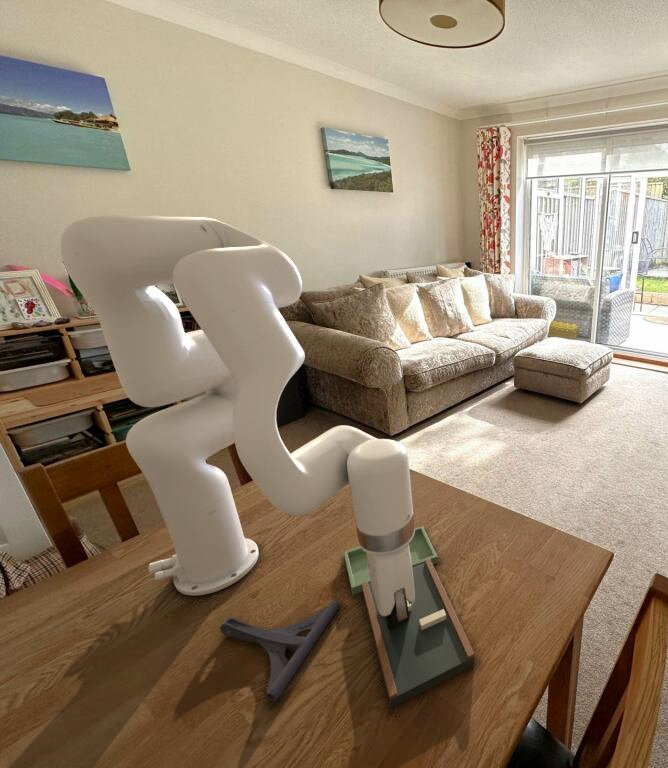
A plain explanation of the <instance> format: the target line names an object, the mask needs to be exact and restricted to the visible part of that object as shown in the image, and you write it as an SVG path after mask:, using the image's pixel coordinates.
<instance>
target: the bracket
mask: <svg viewBox="0 0 668 768" xmlns="http://www.w3.org/2000/svg"><path fill="white" fill-rule="evenodd" d="M340 606H341V604H340V603H339V602H338V601H337V600H331V601H330V602H329V604H327V605H326V606H324V607H323V608H321V609H320V610H318V611H317V612H315V613H314V614H312V615H311V616H309V617H307V618H305V619H303V620H301V621H298V622H296V623H293V624H290V625H288V626H287V625H286V626H283V627H277V628H261V627H258V626H255V625H252V624H250V623H247V622H244V621H242V620H239V619H237V618H236V617H233V616H230V617H228V618H227V619H225V621H224V622H223V623H222V624H221V625H220V627H219V630H220V632H221V633H222V634H223V635H224V636H226V637H229V638H233V639H237V640H242V641H245V642H250V643H255V644H258V645H259V646H261V647H262V648H263V649H264V650H265V652H266V653H267V655H268V657H269V662H270V672H269V673H270V675H269V679H268V683H267V688H266V691H265V693H266V694H265V698H266V699H267V700H268V701H269V702H273V703H275V702H277V701H278V700H279V698H280V696H281V695H282V693H283V692H284V690H286V688H287V686H288V685H289V683H290V681H292V678H293V677H294V676H295V674H296V673H297V671H298V670H299V668H300V666H301V665H302V664H303V663H304V661H305V659H306V658H307V656H308V655H309V653H310V651H312V649H313V647H314V646H315V644H316V643H317V641H318V640H319V638H320V637H321V635H322V633H323V632H324V631H325V630H326V628H327V626H328V624H329V623H330V622H331V620H332V619H333V618H334V616H335V614H336V613H337V611H338V610H339V609H340ZM308 631H309V632H308ZM305 632H308V634H307V635H306V636H299V635H300V634H302V633H305ZM286 651H290V652H294V654H292V657H290V659H288V658H287V657H286Z"/></svg>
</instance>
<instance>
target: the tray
mask: <svg viewBox="0 0 668 768" xmlns="http://www.w3.org/2000/svg"><path fill="white" fill-rule="evenodd" d="M409 549H410V555H411V563H412V567H414V566H417V565H420V564H422V563H425V560H426V559H429V558H430V560H431V562H432V564H433V565H436V564H438V562H439V561H438V560H439V559H438V555H437V552H436V551H435V549H434V546H433V544H432V543H431V540H430V538H429V536H428V534H427V532H426V531H425V528H424V526H423V525H421V526H418V527H415V534H414V537H413V539H412V540H411V542H410V543H409ZM343 557H344V561H345V568H346V571H347V575H348V581H349V586H350V589H351V594H352V595H353V596H355V595H357V594H359V593H363V590H362V583H364V582H367V581H368V584H369V583H371V581H370V577H369V571H368V562H367V553H366V552H364V551H363V550H362V549H361V548H360V546H357V547H353V548H350V549H348V550H345V551H343Z"/></svg>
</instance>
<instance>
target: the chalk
mask: <svg viewBox="0 0 668 768" xmlns="http://www.w3.org/2000/svg"><path fill="white" fill-rule="evenodd" d="M444 620H446V613H445V611H444V609H443V610H440V611H438V612H436V613H433V614H431V615H429V616H427V617H424V618H422V619H420V620H419V625H420V627H421V630H424V629H426V628H428V627H430V626H433V625H435V624H437V623H439V622H441V621H444Z"/></svg>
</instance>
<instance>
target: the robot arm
mask: <svg viewBox="0 0 668 768" xmlns="http://www.w3.org/2000/svg"><path fill="white" fill-rule="evenodd" d="M60 255H61V259H62V263H63V265H64V268H65V269H66V271H67V273H68V275H69V277H70V279H71V280H72V282H73V284H74V285H75V287H76V288H77V289H78V291H79V292H80V294H81V295H82V296H83V297H84V299H85V300H86V302H87V303H88V304H89V306H90V308H91V309H92V311H93V312H94V314H95V315H96V318H97V319H98V322H99V324H100V328H101V331H102V334H103V337H104V340H105V343H106V346H107V348H108V352H109V355H110V358H111V361H112V363H113V367H114V368H115V372H116V375H117V377H118V381H119V383H120V385H121V386H120V387H122V389H123V391H124V393H125V395H126V396H127V398H128V399H129V400H130V401H131V402H132V403H134V404H135V405H138V406H140V407H143V408H157V407H162V406H167V405H171V404H174V403H177V402H180V401H182V402H180V403H177V404H175V405H172V406H169V407H167V408H164V409H161V410H159V411H157V412H154V413H151V414H149V415H147V416H146V417H144V418H142V419H140V420H139V421H137V422H136V423H135V424H133V426H131V428H130V429H129V430H128V431H127V434H126V436H125V445H126V448H127V451H128V453H129V455H130V456H131V458H132V460H133V461H134V462H135V464H136V465H137V467H138V468H139V470H140V471H141V472H142V474H143V476H144V477H145V479H146V481H147V483H148V485H149V486H150V488H151V491H152V494H153V495H154V498H155V500H156V503H157V506H158V508H159V511H160V513H161V516H162V518H163V521H164V524H165V527H166V530H167V532H168V535H169V537H170V541H171V543H172V545H173V548H174V552H175V554H173V555H172V556H171V557H169V558H166V559H161V560H157V561H153V562H150V563H149V564H148V572H149V574H150V575H151V576H152V575H154V580H155V581H156V582H159V581H162V580H165V579H167V578H170V577H171V578H172V577H173V584H174V588H175V589H176V590H177V591H178V592H179V593H181V594H183V595H186V596H195V597H196V596H204V595H208V594H212V593H216V592H219V591H221V590H224V589H225V588H228V587H229V586H231V585H233V584H236V582H239V580H241V579H243V577H245V576H246V575H247V574H248V573H249V572H250V571H251V570H252V569H253V568H254V566H255V565H256V563H257V561H258V559H259V554H260V552H259V547H258V545H257V543H256V542H255V541H254V540H252V539H250V538H247V537H245V535H244V531H243V528H242V524H241V521H240V518H239V517H240V516H239V514H238V510H237V506H236V503H235V499H234V496H233V493H232V489H231V485H230V483H229V479H228V476H227V475H226V473H225V472H224V471H222V470H221V469H220V468H218V467H217V466H214V465H212V464H209V463H207V460H208V458H210V457H211V456H213V455H215V454H217V453H218V452H220V451H222V450H224V449H225V448H228V447H229V446H232V445H233V444H234V445H235V446H234V447H235V449H236V452H237V456H238V458H239V460H240V462H241V464H242V466H243V468H244V469H245V470H246V472H247V473H248V475H249V476H250V478H251V479H252V481H253V482H254V484H255V486H257V489H259V491H260V492H261V493H262V495H263V496H264V497H265V499H266V500H267V501H268V502H269V503H270V504H271V505H272V506H273V507H274V508H275V509H276V510H278V511H279V512H280V513H282V514H284V515H287V516H290V517H304V516H307V515H310V514H311V513H313V512H315V511H316V510H318V509H319V508H321V507H322V506H323V505H324V504H326V503H327V502H328V501H330V499H332V498H333V497H334V496H336V494H337V493H339V492H340V491H341V490H343V488H345V487H346V486H348V485H349V491H350V498H351V504H352V510H353V516H354V522H355V528H356V536H357V542H358V547H360V548H361V549H362V550H363V551H364V552H366V553H367V562H368V571H369V577H370V581H371V585H372V589H373V592H374V596H375V600H376V604H377V607H378V610H379V613H380V615H382V616H385V619H386V623H387V627H388V629H392V628H394V627H397V626H400V625H402V624H404V623H406V622H408V621H409V614H408V605H407V599H408V602H409V604H411V605H412V604H413V603H414V601H415V590H414V580H413V571H412V563H411V555H410V549H409V543H410V542H411V540H412V539H413V537H414V534H415V528H416V527H415V517H414V506H413V493H412V484H411V483H412V482H411V472H410V460H409V454H408V451H407V449H406V448H405V446H404V445H403V444H402V443H401V442H399V441H397V440H393V439H388V438H376V437H374V436H372V435H371V434H368V433H366V432H364V431H362V430H361V429H359V428H356V427H354V426H350V425H344V424H343V425H336V426H334V427H332V428H330V429H328V430H327V431H325V432H323V433H322V434H320V435H318V436H317V437H315V438H313V439H312V440H310V441H308V442H307V443H305V444H304V445H302V446H301V447H299V448H297V449H295V450H293V451H292V452H291V453H290V451H289V450H288V448H287V447H286V445H285V444H284V441H283V440H282V438H281V435H280V432H279V430H278V423H277V422H278V421H277V410H278V405H279V401H280V398H281V395H282V393H283V391H284V389H285V387H286V386H287V384H288V383H289V381H290V380H291V378H292V377H293V376H294V375H295V374H296V373H297V371H299V369H300V368H301V367H302V365H303V364H304V362H305V357H306V355H305V350H304V349H303V347H302V346H301V344H300V343H299V341H298V339H297V338H296V336H295V335H294V333H293V331H292V330H291V329H290V327H289V325H288V324H287V321H286V319H285V318H284V317H283V315H282V314H281V312H280V311H279V309H280V308H281V309H282V308H285V307H286V308H287V307H289V306H291V305H293V304H294V303H296V302H297V301H298V300H299V299H300V297H301V295H302V292H303V281H302V277H301V274H300V272H299V270H298V267H297V266H296V264H295V263H294V261H292V260H291V259H290V257H289V256H288V255H287V254H285V253H284V252H283V251H282V250H280V249H279V248H278V247H276V246H274V245H273V244H270V243H269V242H267V241H264V240H262V239H260V238H258V237H256V236H254V235H252V234H249V233H248V232H246V231H244V230H241V229H239V228H238V227H235V226H232V225H230V224H228V223H226V222H223V221H220V220H217V219H215V218H209V217H199V216H171V215H169V216H168V215H167V216H165V215H146V214H145V215H140V214H137V215H136V214H112V215H99V216H90V217H85V218H81V219H79V220H76V221H73V222H71V223H70V224H69V225H67V227H66V228H65V229H64V231H63V232H62V235H61V237H60ZM164 285H174V288H175V290H176V292H177V293H178V295H179V297H180V299H181V300H182V301H183V303H184V304H185V306H186V307H187V310H188V311H189V312H190V314H191V315H192V317H193V319H194V320H195V322H196V323H197V324H198V326H199V328H200V329H197V330H192V331H187V332H185V328H184V326H183V321H182V317H181V314H180V311H179V308H178V307H177V305H176V304H175V303H174V302H173V300H171V299H170V298H169V297H168V295H166V294H165V293H164V292H163V291H161V290H160V289H159V288H157V287H156V286H164ZM202 393H205V394H203V395H200V394H202ZM196 395H200V396H197V397H195V398H192V399H189V400H187V401H183V400H185V399H188V398H191V397H194V396H196Z"/></svg>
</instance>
